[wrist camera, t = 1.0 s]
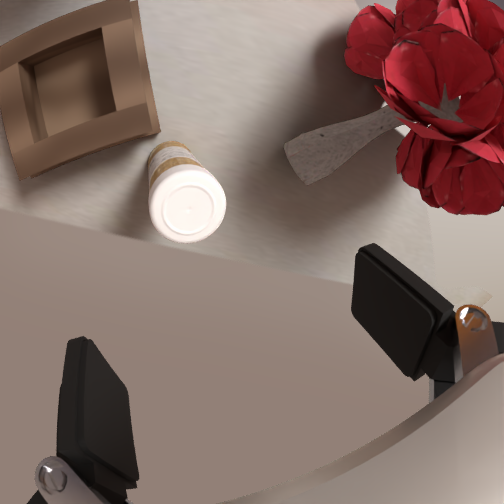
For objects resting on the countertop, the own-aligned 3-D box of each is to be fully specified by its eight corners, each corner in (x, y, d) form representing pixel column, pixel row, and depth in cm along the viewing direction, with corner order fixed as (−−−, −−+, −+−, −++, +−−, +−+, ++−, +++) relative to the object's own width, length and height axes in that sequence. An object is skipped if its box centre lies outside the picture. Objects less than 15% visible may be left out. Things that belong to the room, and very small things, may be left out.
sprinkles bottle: (180, 191, 29) (205, 256, 18) (139, 174, 27) (136, 231, 16) (201, 151, 28) (242, 190, 17) (160, 132, 26) (171, 157, 15)
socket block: (8, 53, 16) (-15, 48, 11) (137, 3, 18) (136, -15, 14) (35, 175, 23) (16, 191, 19) (160, 130, 26) (163, 136, 21)
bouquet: (337, 185, 43) (498, 111, 28) (356, 321, 27) (599, 208, 12) (250, 65, 32) (442, -24, 17) (196, 131, 16) (573, -22, 1)
